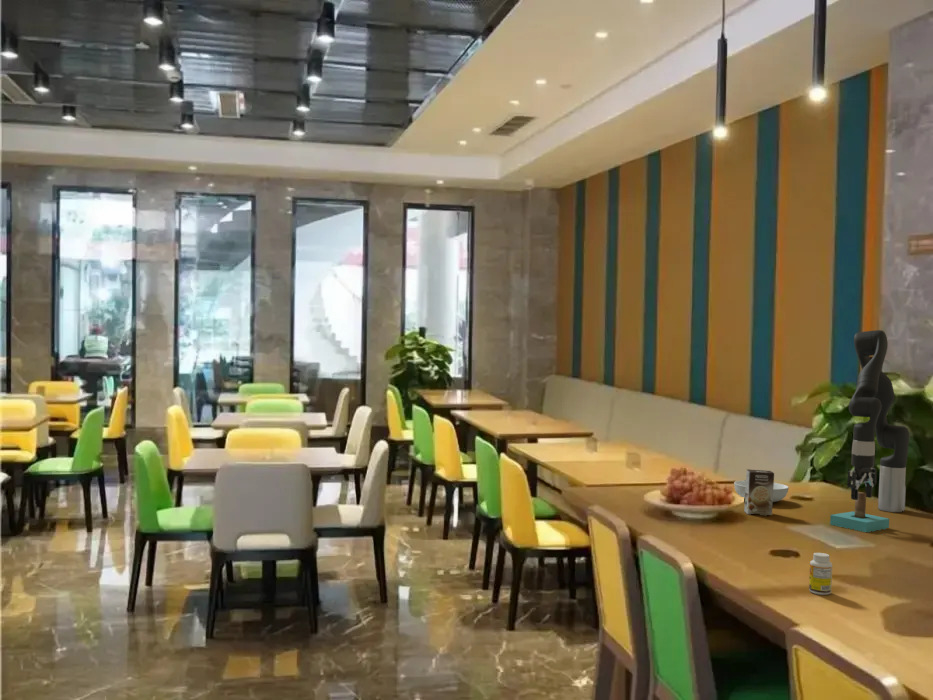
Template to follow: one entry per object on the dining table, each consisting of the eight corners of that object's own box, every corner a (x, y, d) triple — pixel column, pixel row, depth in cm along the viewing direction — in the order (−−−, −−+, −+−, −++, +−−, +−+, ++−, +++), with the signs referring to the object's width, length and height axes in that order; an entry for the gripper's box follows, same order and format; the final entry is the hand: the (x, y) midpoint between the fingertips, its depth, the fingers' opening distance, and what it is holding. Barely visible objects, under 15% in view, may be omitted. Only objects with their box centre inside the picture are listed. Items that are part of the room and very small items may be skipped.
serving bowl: (795, 507, 369) (795, 489, 369) (741, 505, 369) (742, 488, 369) (778, 497, 390) (779, 480, 389) (727, 495, 390) (728, 478, 390)
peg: (857, 525, 339) (859, 491, 338) (866, 527, 336) (868, 493, 335) (852, 526, 337) (853, 492, 336) (861, 528, 334) (862, 494, 333)
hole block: (853, 520, 346) (853, 511, 346) (888, 528, 334) (889, 518, 334) (830, 524, 338) (830, 514, 338) (866, 532, 326) (866, 522, 326)
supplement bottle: (813, 588, 254) (814, 550, 254) (834, 592, 251) (835, 554, 250) (805, 592, 250) (807, 554, 250) (826, 596, 246) (828, 558, 246)
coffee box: (747, 514, 351) (749, 471, 351) (743, 511, 357) (745, 469, 357) (772, 516, 350) (774, 472, 350) (768, 512, 357) (770, 470, 356)
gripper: (865, 450, 342) (863, 494, 343) (841, 453, 334) (840, 498, 335) (884, 453, 336) (882, 498, 337) (861, 456, 328) (859, 502, 329)
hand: (861, 498), depth 336 cm, fingers open, 8 cm apart
